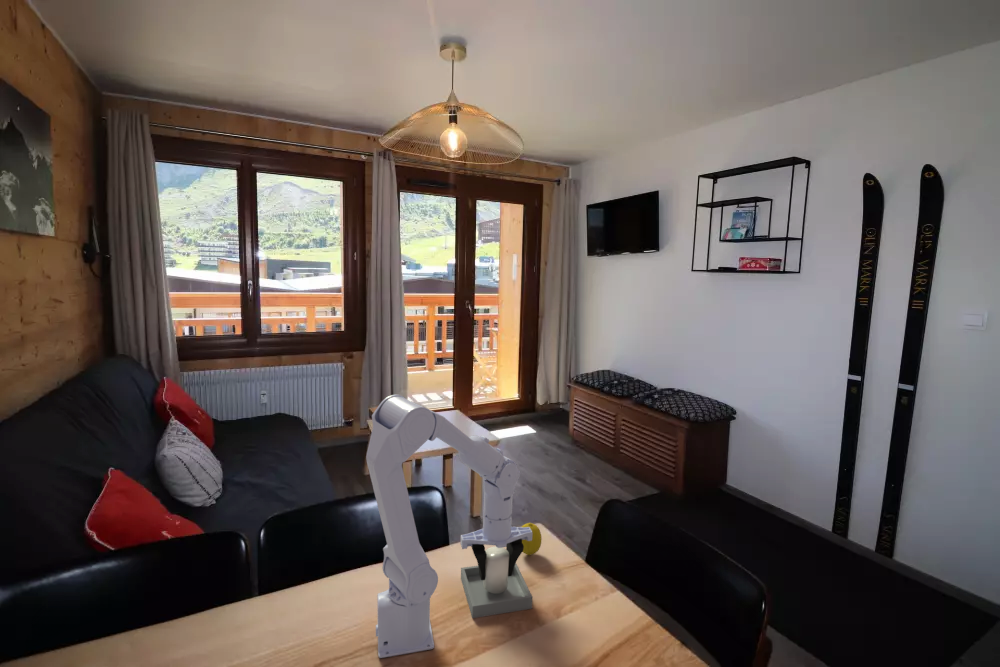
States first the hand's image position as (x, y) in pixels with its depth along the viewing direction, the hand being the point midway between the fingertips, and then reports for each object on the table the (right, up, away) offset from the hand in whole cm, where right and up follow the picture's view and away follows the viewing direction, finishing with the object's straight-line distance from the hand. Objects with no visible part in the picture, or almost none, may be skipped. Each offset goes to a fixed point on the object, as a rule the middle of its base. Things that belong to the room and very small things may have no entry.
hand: (495, 575), depth 100 cm
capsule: (0, -2, 0) cm, 2 cm away
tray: (0, -4, +1) cm, 4 cm away
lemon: (+8, -2, +14) cm, 16 cm away
